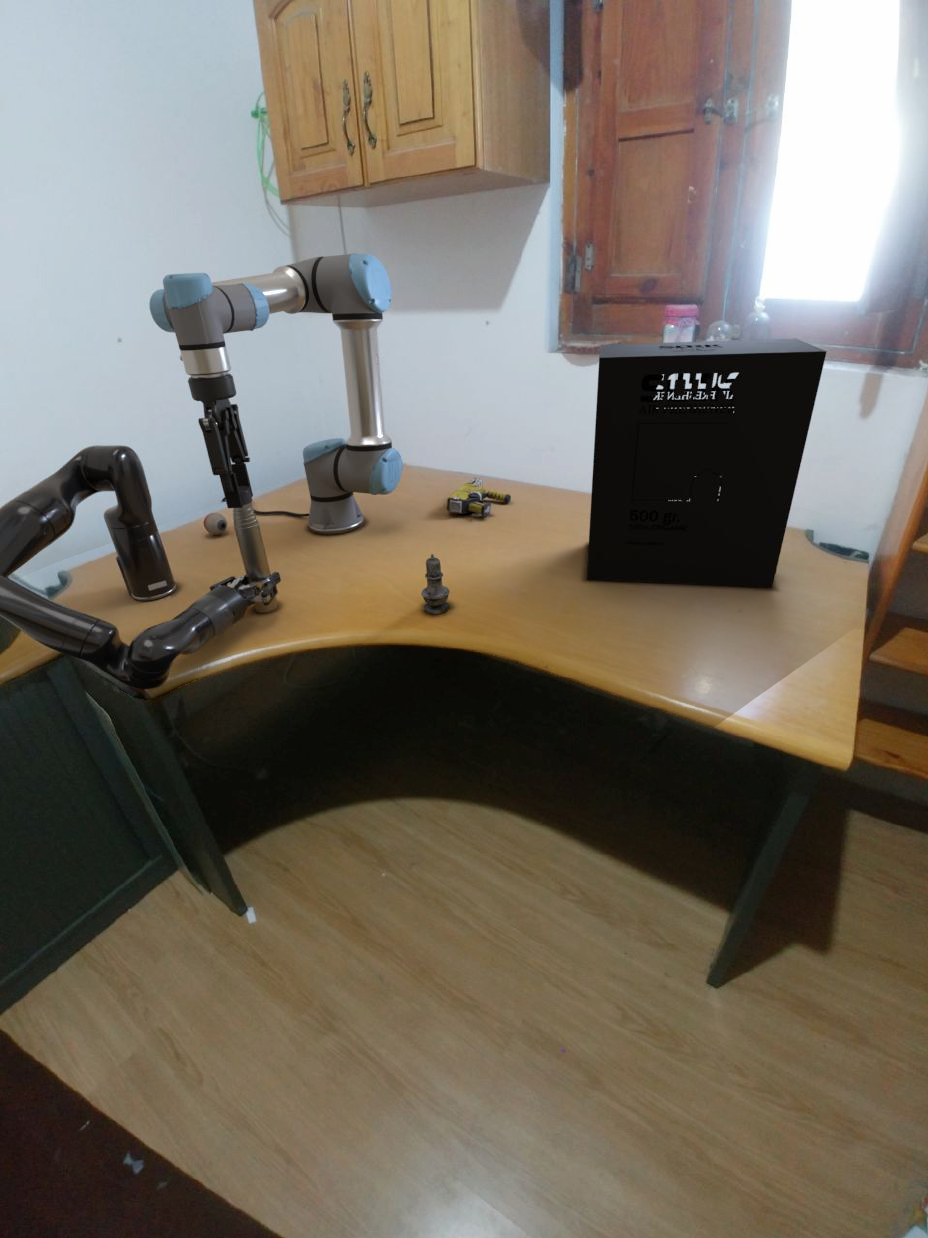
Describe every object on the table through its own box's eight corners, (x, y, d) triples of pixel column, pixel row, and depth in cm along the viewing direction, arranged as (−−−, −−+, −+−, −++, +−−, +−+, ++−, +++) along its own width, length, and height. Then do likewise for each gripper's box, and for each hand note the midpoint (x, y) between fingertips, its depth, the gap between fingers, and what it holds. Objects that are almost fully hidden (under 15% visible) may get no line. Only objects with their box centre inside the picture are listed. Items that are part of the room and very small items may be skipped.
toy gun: (519, 482, 184) (472, 475, 188) (496, 505, 164) (445, 497, 168) (517, 497, 186) (471, 490, 190) (495, 522, 166) (444, 513, 170)
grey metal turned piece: (447, 614, 122) (443, 560, 116) (419, 613, 123) (413, 559, 117) (453, 601, 127) (450, 548, 121) (426, 599, 128) (421, 547, 122)
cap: (237, 507, 114) (234, 494, 113) (224, 503, 117) (221, 490, 116) (257, 500, 117) (254, 487, 116) (244, 497, 120) (240, 484, 118)
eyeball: (217, 539, 164) (211, 518, 161) (202, 535, 167) (196, 515, 164) (234, 532, 168) (229, 511, 166) (220, 528, 172) (214, 508, 169)
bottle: (270, 613, 126) (242, 496, 114) (251, 612, 127) (220, 496, 115) (282, 603, 130) (255, 489, 118) (262, 601, 131) (234, 488, 119)
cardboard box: (752, 548, 142) (795, 338, 119) (772, 587, 124) (826, 351, 102) (589, 543, 149) (600, 344, 127) (586, 579, 132) (599, 357, 110)
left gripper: (189, 625, 118) (243, 586, 132) (251, 634, 114) (300, 593, 127) (178, 591, 114) (235, 555, 128) (241, 599, 110) (293, 561, 124)
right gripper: (207, 368, 114) (237, 487, 125) (165, 384, 98) (203, 519, 109) (247, 366, 113) (273, 486, 125) (211, 381, 97) (244, 517, 109)
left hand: (267, 574), depth 128 cm, fingers closed on bottle, 4 cm apart
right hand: (240, 501), depth 117 cm, fingers open, 5 cm apart
